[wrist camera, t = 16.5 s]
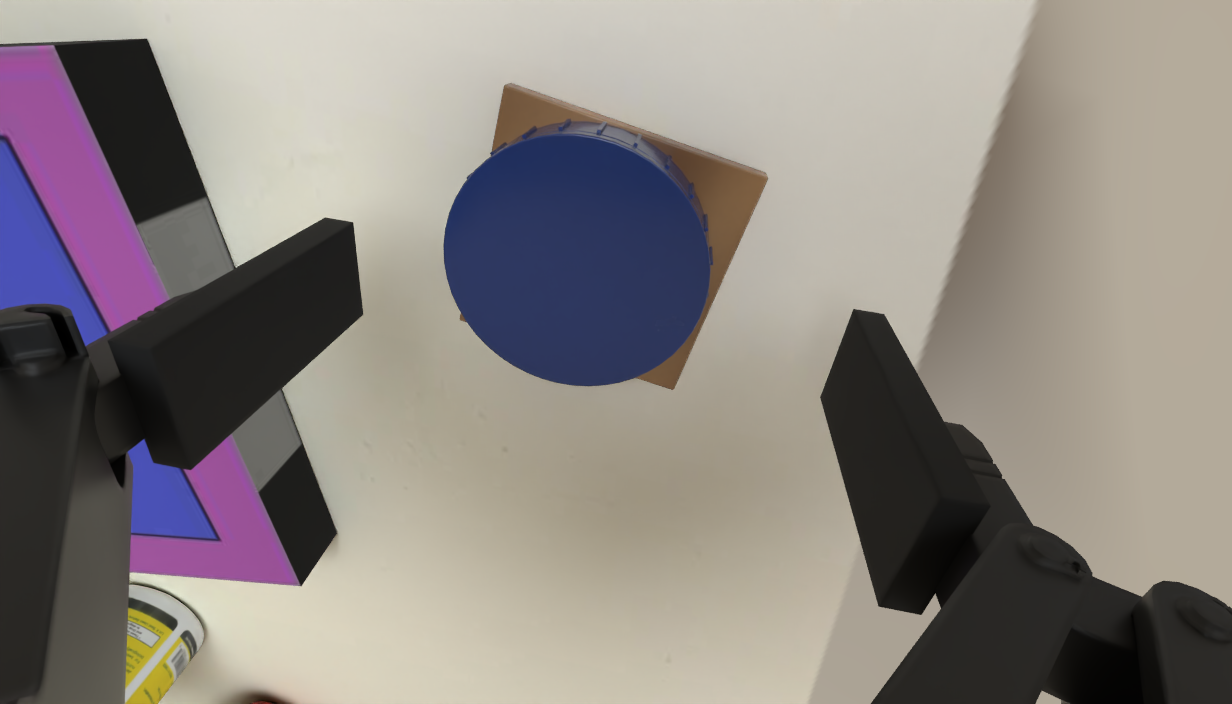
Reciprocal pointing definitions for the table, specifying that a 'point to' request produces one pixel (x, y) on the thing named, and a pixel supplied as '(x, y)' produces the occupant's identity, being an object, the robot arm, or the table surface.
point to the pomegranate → (261, 702)
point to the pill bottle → (157, 643)
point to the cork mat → (716, 179)
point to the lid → (579, 254)
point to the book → (143, 294)
